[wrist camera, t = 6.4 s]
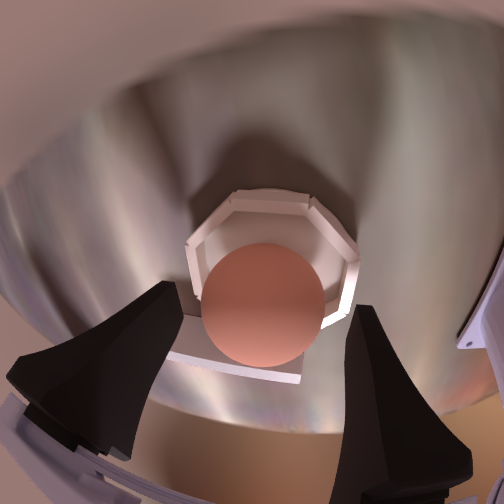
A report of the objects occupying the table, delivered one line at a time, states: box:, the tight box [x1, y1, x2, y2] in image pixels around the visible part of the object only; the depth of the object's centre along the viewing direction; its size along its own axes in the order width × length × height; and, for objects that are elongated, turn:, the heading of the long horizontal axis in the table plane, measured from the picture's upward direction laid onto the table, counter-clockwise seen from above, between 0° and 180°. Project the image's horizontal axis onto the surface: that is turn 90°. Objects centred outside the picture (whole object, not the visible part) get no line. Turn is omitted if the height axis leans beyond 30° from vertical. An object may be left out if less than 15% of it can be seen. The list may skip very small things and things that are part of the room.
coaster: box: [185, 188, 361, 329], centre depth 13 cm, size 8×8×1 cm
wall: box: [166, 314, 304, 384], centre depth 16 cm, size 8×1×3 cm, turn 92°
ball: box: [201, 243, 326, 367], centre depth 11 cm, size 5×5×5 cm
